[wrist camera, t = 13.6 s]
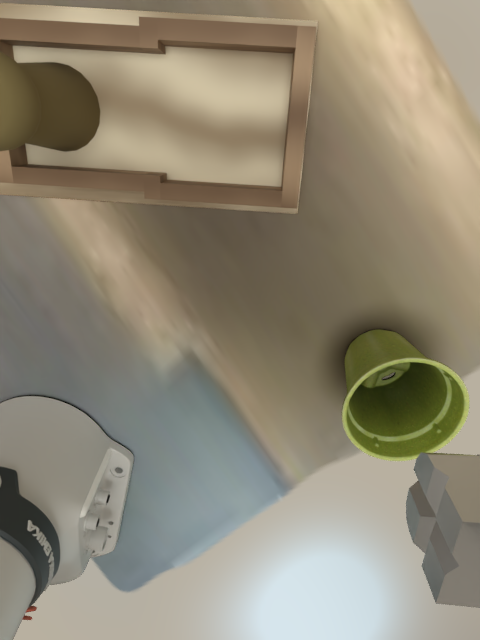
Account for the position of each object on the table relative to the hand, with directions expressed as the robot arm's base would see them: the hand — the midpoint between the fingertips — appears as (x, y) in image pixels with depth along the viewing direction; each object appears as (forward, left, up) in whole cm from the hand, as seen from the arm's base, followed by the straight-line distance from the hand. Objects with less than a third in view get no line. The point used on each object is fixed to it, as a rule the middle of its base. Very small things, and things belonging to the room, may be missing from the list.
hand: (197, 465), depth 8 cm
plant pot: (-13, -13, -30) cm, 36 cm away
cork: (+6, +14, -29) cm, 33 cm away
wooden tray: (+6, +9, -30) cm, 32 cm away
